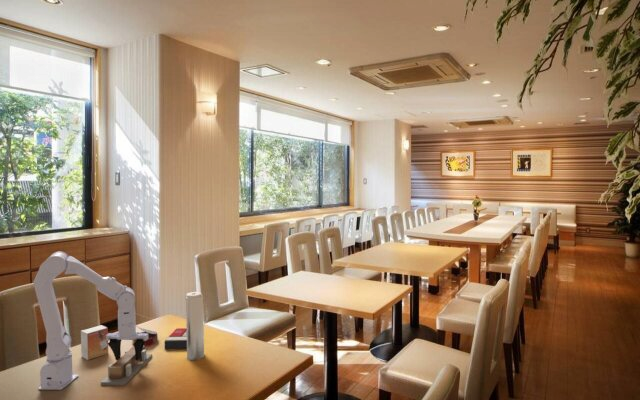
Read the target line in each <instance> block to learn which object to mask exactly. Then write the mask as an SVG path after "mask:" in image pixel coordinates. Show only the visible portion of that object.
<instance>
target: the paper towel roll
mask: <svg viewBox="0 0 640 400" xmlns="http://www.w3.org/2000/svg"><path fill="white" fill-rule="evenodd" d="M185 313H186V314H185V317H186V318H185V319H186V320H185V322H186V328H187V349H186V359H187V360H188V361H199V360H202V359H203V358H204V357H205V338H204V337H205V332H204V329H205V328H204V326H205V325H204V295H203V294H202V292H200V291H193V292H192V291H191V292H188V293H186V295H185Z"/></svg>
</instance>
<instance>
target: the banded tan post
mask: <svg viewBox="0 0 640 400" xmlns="http://www.w3.org/2000/svg"><path fill="white" fill-rule="evenodd" d="M128 350H129V351H127V352H126V353H125V352H124V354H123V355H121V357H120V359H119V360H115V361H116V362H114V363H112V364H113V365H112V366H111V367H110V368H109V374H110V379H122V378H123V377H124V376H125V375H126V366H127V365H128V364H131V369H132V368H133V367H134V366H135V365H136V364H137V363H138V362H139V361H140V360H141V359H142V357H141V356H140V359H139V360H138V361H136V359H135V348H134V346H133V345H132V347H130V348H129V349H128ZM143 350H146V346H143V348H142V351H143ZM142 351H141V352H142Z"/></svg>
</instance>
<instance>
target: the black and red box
mask: <svg viewBox="0 0 640 400" xmlns="http://www.w3.org/2000/svg"><path fill="white" fill-rule="evenodd" d="M164 350H187V327H186V328H185V327H184V328H181V327H180V328H175V329H174V330H173V332H172V333H171V334H170V335H169V336H168V337H167V338H166V339H165V340H164Z"/></svg>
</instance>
